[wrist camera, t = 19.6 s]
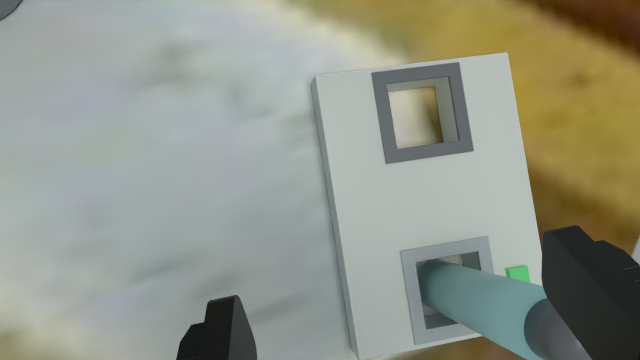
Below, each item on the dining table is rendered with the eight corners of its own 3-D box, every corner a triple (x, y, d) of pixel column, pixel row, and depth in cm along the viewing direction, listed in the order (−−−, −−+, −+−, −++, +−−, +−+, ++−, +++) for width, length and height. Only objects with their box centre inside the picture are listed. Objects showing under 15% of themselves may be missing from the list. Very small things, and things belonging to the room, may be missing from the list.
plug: (417, 312, 40) (561, 398, 22) (409, 264, 41) (545, 308, 22) (462, 303, 41) (640, 379, 22) (454, 256, 41) (623, 292, 22)
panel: (351, 349, 40) (361, 363, 36) (310, 84, 40) (316, 72, 37) (532, 313, 42) (557, 323, 38) (489, 63, 43) (511, 50, 39)
